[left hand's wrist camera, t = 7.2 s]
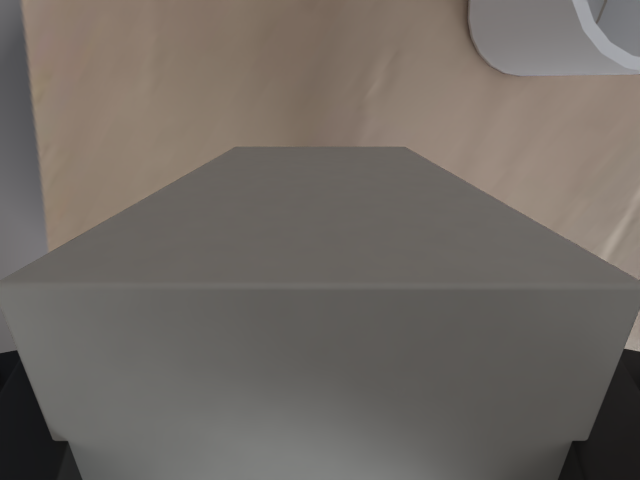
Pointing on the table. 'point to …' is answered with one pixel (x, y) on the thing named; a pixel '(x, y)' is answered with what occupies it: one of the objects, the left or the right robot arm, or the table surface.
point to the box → (320, 327)
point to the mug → (557, 36)
